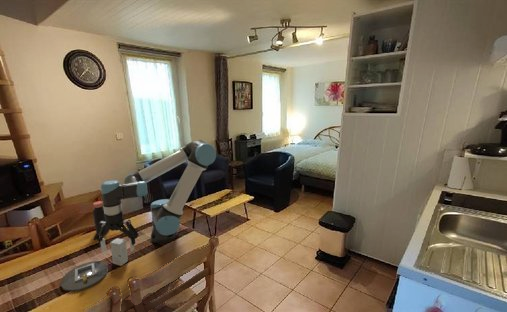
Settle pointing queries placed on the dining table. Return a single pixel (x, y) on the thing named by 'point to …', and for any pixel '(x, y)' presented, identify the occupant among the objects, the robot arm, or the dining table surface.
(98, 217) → the bottle
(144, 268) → the dining table surface
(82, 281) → the flange plate
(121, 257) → the skincare box
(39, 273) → the dining table surface
